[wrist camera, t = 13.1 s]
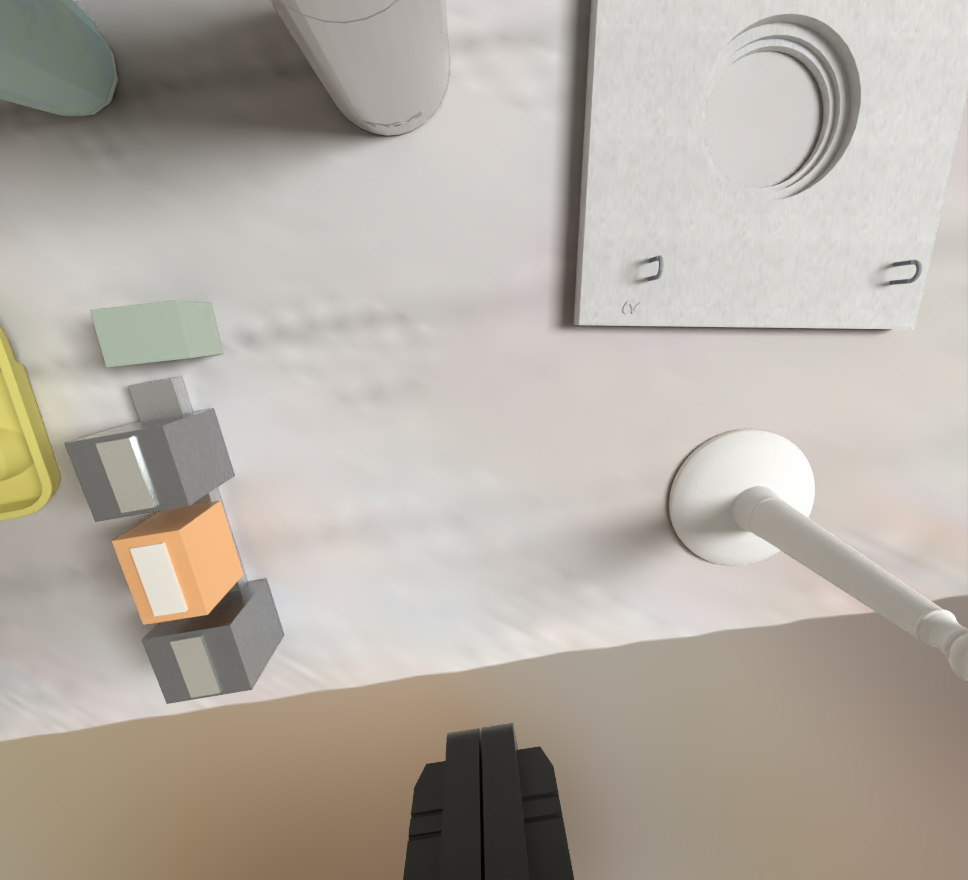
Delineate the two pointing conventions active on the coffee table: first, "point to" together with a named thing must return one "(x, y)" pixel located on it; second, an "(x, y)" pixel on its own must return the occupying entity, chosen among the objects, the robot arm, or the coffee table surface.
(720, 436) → the candlestick
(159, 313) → the green block
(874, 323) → the mounting panel
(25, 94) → the disposable coffee cup
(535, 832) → the robot arm
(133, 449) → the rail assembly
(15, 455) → the plastic component
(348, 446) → the coffee table surface
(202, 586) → the orange module
